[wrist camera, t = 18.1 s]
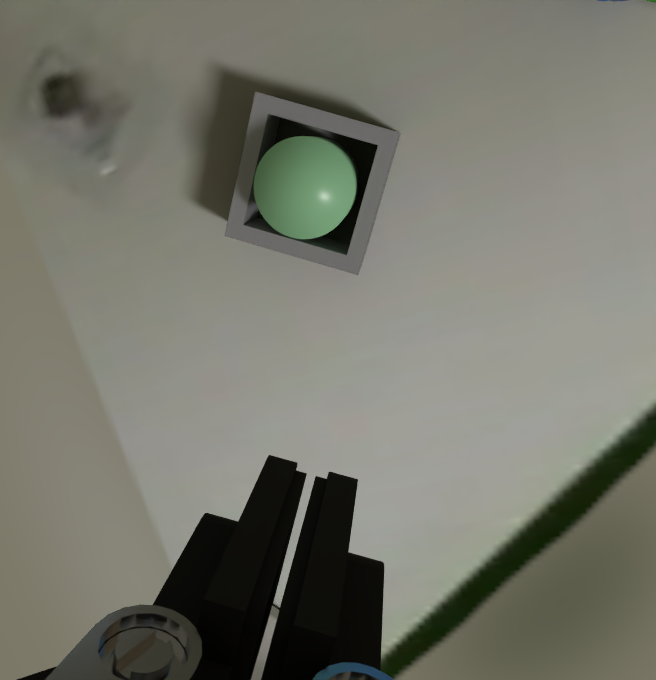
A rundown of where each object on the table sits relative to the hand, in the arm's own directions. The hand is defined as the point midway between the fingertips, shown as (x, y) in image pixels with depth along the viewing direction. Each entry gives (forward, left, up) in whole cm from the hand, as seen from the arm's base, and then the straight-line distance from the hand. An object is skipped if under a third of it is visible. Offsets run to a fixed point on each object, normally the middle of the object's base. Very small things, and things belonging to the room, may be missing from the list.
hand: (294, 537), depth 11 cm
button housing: (+4, +4, -24) cm, 25 cm away
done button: (+4, +4, -24) cm, 24 cm away
